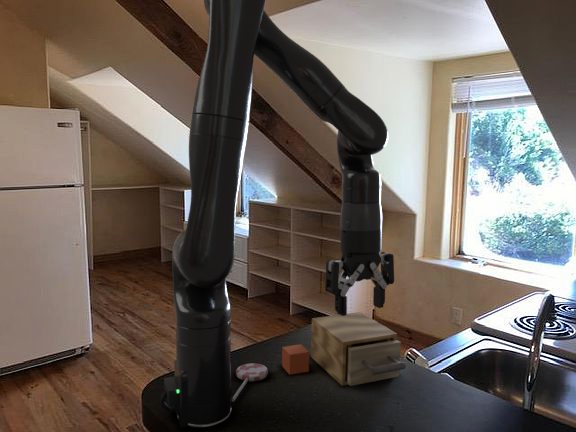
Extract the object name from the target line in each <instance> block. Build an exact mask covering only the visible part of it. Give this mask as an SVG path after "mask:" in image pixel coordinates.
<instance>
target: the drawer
mask: <svg viewBox="0 0 576 432" xmlns="http://www.w3.org/2000/svg"><path fill="white" fill-rule="evenodd" d="M406 368H407V365H406V363H405V362H404V361H401V341H400V340H398V339H397V340H395V341H391V339H390V338H389V339H383V340H377V341H370V342H364V343H358V344H351V345H346V378H348V381H347V383H348V384H349V385H348V386H350V387H352V386H357V385H363V384H367V383H373V382H377V381H382V380H388V379H393V378H398V377H400V371H401V370H402V371H403V370H406Z"/></svg>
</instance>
